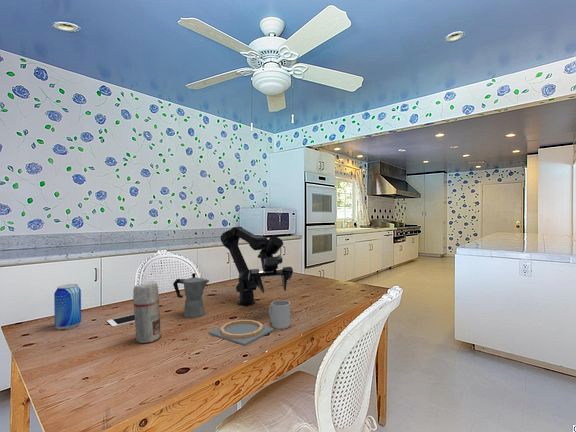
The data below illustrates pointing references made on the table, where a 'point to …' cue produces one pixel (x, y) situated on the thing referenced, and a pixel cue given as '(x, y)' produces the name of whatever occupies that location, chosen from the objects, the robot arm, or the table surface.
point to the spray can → (146, 312)
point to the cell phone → (122, 320)
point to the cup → (280, 314)
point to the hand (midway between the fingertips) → (274, 291)
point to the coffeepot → (192, 295)
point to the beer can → (67, 306)
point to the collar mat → (242, 331)
